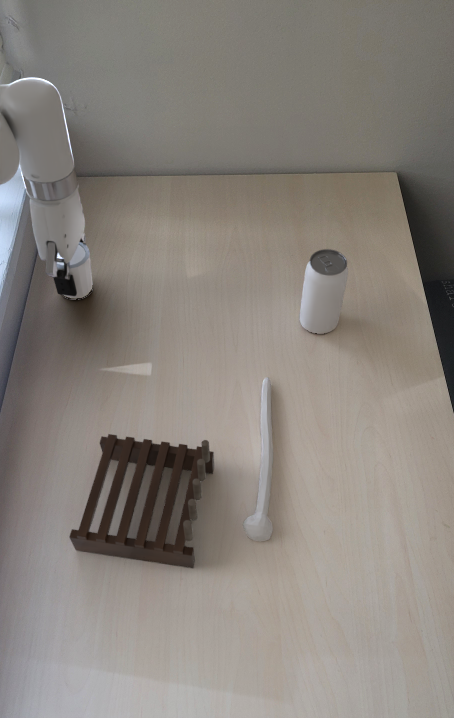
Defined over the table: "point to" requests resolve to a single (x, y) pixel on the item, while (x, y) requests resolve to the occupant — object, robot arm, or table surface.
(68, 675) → the table surface
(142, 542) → the rack
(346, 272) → the can
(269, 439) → the white spoon
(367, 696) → the table surface
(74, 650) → the table surface
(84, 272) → the white cup
